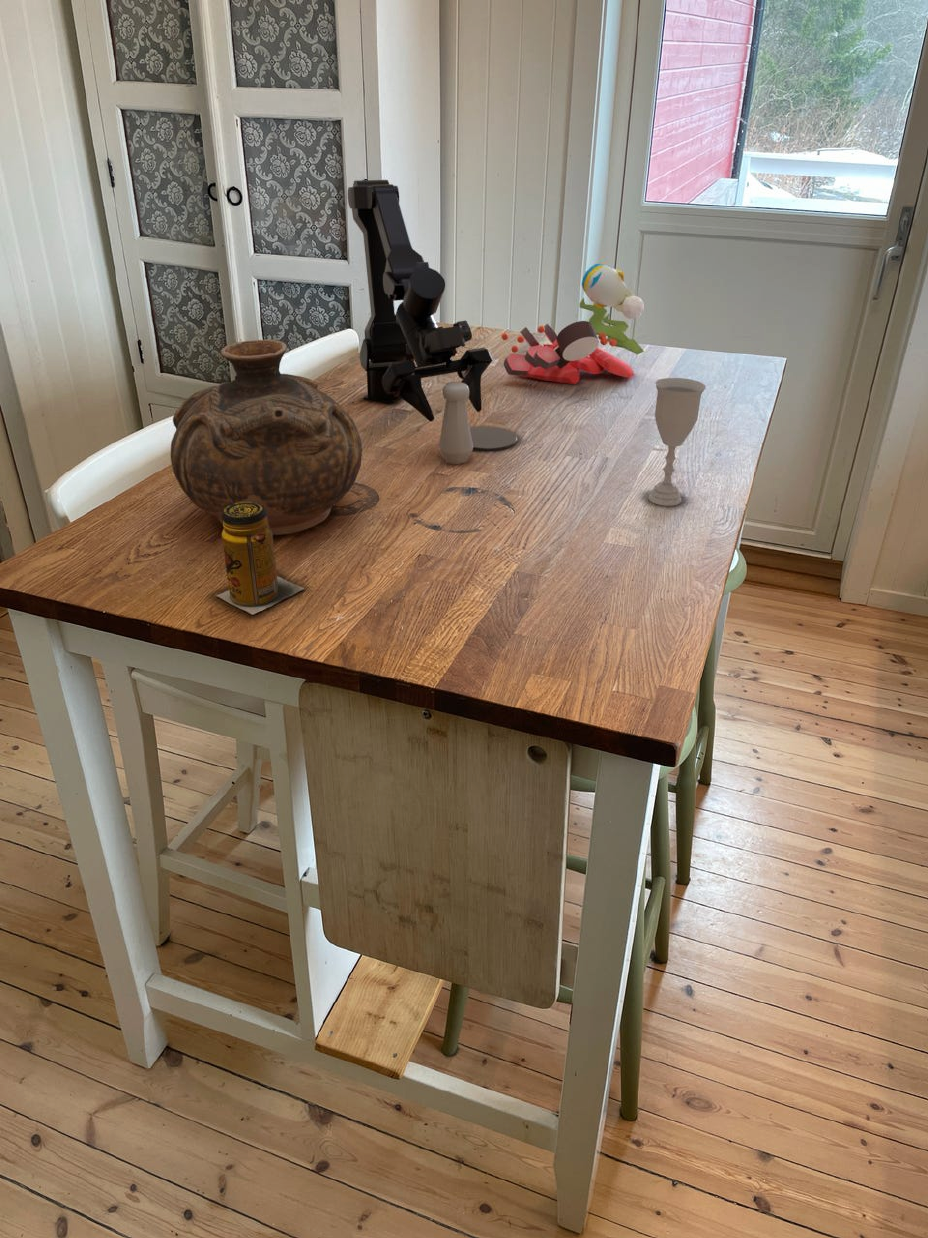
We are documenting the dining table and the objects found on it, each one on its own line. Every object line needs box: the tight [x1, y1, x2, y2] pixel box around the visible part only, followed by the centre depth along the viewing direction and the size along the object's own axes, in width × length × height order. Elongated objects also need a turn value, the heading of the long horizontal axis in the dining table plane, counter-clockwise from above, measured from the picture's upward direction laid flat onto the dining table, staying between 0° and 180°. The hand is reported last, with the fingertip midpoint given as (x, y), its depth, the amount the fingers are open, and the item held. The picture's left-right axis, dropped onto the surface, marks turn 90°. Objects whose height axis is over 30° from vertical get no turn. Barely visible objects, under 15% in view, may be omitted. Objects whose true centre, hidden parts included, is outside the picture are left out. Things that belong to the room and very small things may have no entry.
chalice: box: [648, 377, 707, 507], centre depth 141 cm, size 7×7×18 cm
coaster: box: [470, 425, 518, 452], centre depth 167 cm, size 11×11×1 cm
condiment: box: [215, 502, 306, 616], centre depth 116 cm, size 7×8×12 cm
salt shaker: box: [438, 381, 473, 465], centre depth 155 cm, size 6×6×13 cm
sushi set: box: [501, 263, 645, 385], centre depth 195 cm, size 29×30×24 cm
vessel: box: [170, 339, 363, 536], centre depth 133 cm, size 27×28×25 cm
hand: (456, 415), depth 154 cm, fingers open, 9 cm apart
